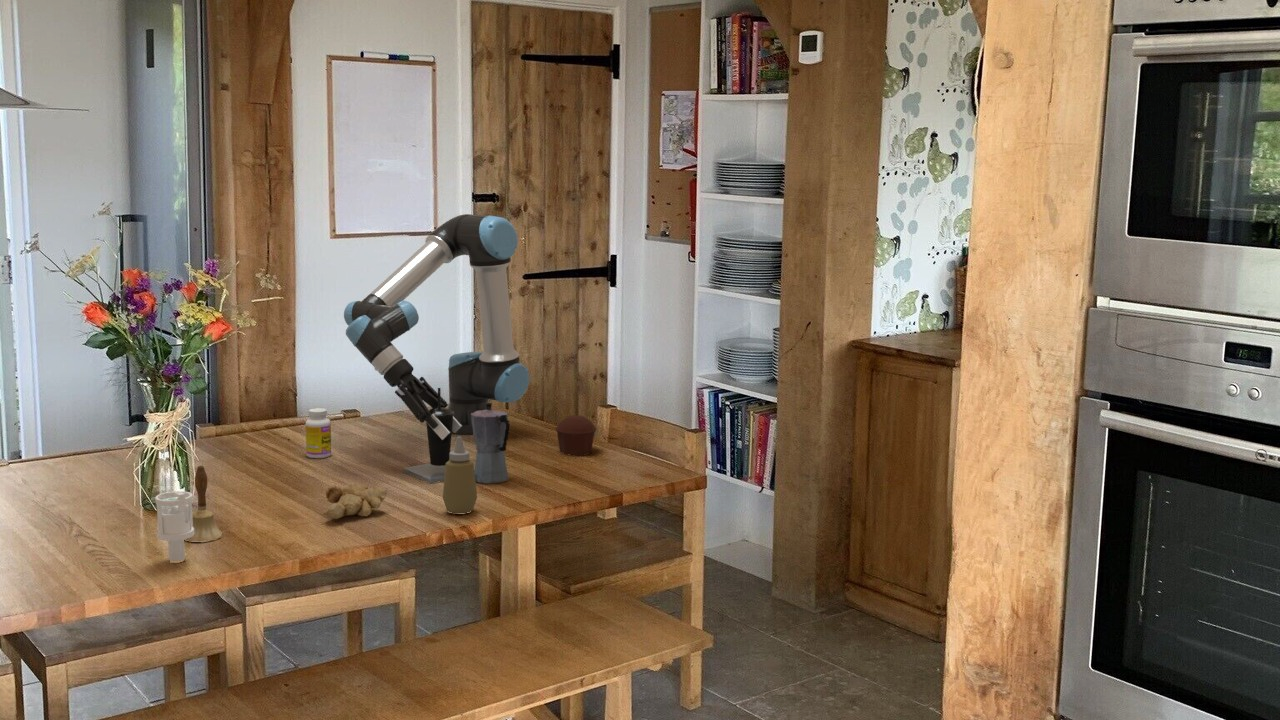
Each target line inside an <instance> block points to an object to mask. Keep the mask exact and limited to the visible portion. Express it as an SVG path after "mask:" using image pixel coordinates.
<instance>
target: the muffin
mask: <svg viewBox="0 0 1280 720" xmlns="http://www.w3.org/2000/svg"><path fill="white" fill-rule="evenodd" d="M555 431H556V435H557V441H558V447H559V448H558V449H559V452H562V453H561V454H563V453H564V454H563V455H565V454H570V455H569V456H573V455H576V456H585V455H584V454H586V455H588V454H587V453H590V454H592V453H591V452H592V450H593V446H594V445H593V444H594V443H593V442H594V439H595V433H596V431H597V428H596V426H595V425H594V424H593V422H592V421H591V420H590V419H589V418H587V417H585V416H583V415H578V414H577V415H576V414H575V415H569V416H566V417H564V418H562V420H560V422H558V425H557V426H556V427H555Z"/></svg>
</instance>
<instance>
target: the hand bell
mask: <svg viewBox="0 0 1280 720" xmlns="http://www.w3.org/2000/svg"><path fill="white" fill-rule="evenodd" d="M194 484H195V485H194V486H195V490H196V492H197V510H196V511H194V512H192V518H193V527H194V535H193V536H192V537H190V538H187V539H186V540H189V541H204V540H210V539H215V538H218V537H220V536H221V535H222V533H223V532H222V530H220V529H219V528H218V527H217V524H216V521H215V518H214V513H213V512H212V511H211V510H208V509H207V499H206V498H207V497H206V494H207V489H208V475H207V472H206V470H205V466H204V465H197V467H196V472H195V475H194Z"/></svg>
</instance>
